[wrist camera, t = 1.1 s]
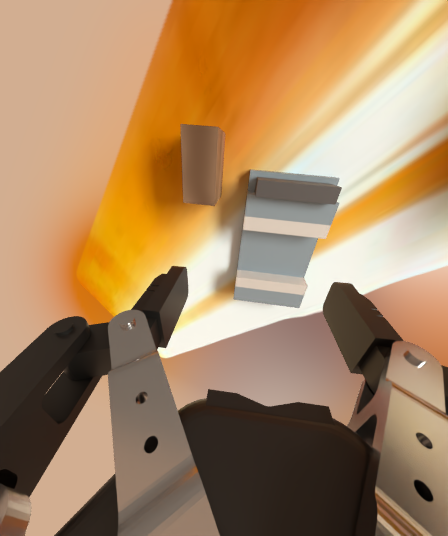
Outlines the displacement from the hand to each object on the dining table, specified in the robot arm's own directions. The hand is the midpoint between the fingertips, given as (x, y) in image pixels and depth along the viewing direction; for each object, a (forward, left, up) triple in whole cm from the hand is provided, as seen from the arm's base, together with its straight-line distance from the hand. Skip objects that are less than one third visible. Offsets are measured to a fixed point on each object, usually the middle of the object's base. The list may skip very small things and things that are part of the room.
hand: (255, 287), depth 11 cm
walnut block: (-5, -7, -22) cm, 24 cm away
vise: (+6, +5, -22) cm, 24 cm away
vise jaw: (0, +5, -20) cm, 21 cm away
